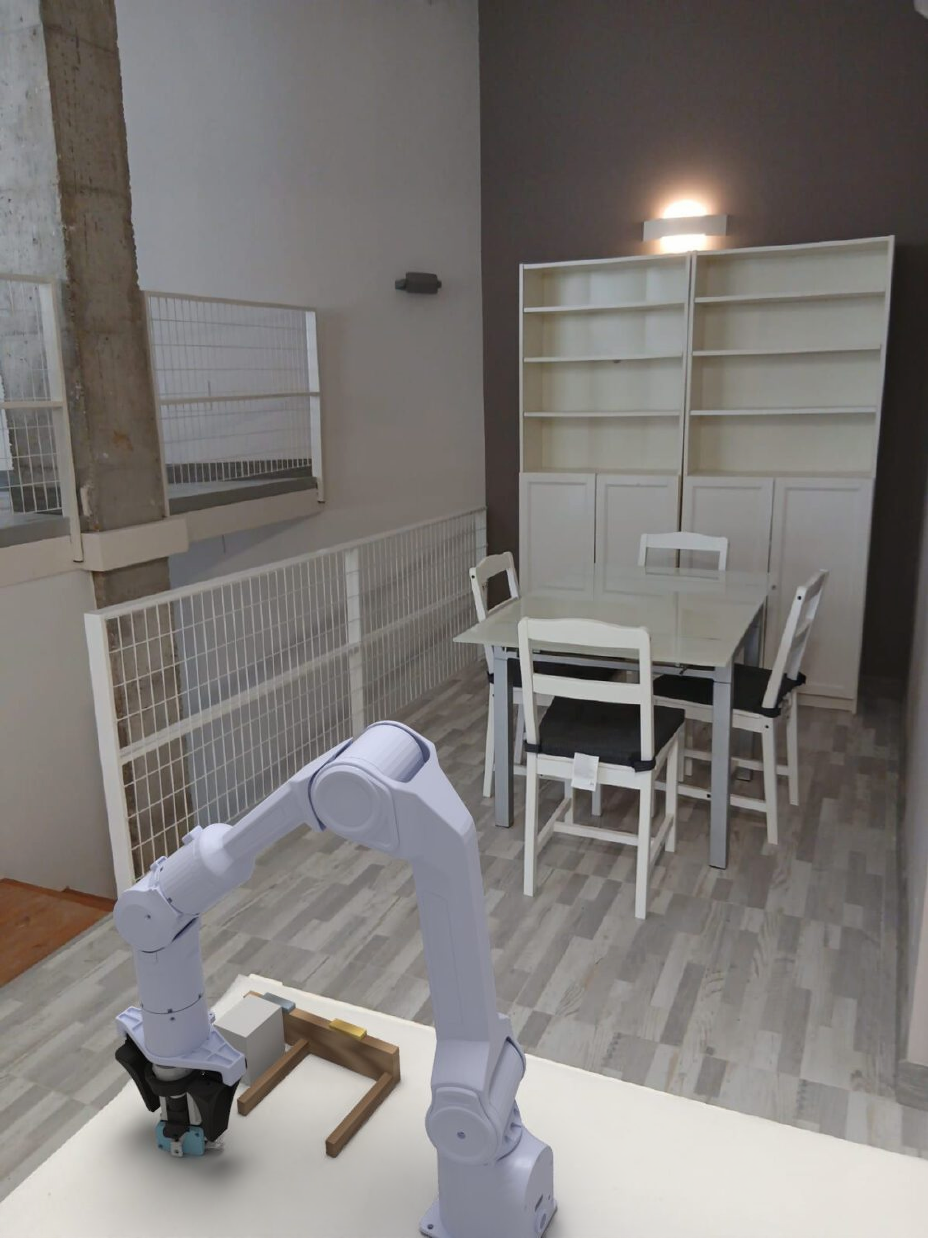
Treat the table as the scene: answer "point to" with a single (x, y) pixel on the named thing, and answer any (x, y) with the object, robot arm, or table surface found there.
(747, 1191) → the table surface
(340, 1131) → the wooden bench frame
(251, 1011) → the grey plug block
